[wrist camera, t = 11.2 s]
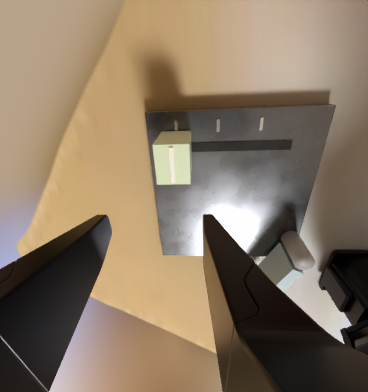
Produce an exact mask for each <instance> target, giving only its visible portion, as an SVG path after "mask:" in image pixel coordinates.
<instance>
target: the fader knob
mask: <svg viewBox="0 0 368 392" xmlns="http://www.w3.org/2000/svg"><path fill="white" fill-rule="evenodd" d="M152 146H153V154H154V163H155V171H156V180H157V185H172V184H191V170H192V149H191V131H164V132H161V133H160V134H159V136H158V137H157V139H156V140H155V142H154V143H153V145H152Z"/></svg>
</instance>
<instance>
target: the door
mask: <svg viewBox="0 0 368 392" xmlns="http://www.w3.org/2000/svg"><path fill="white" fill-rule="evenodd" d="M281 241H282V242H283V244H282V243H280V242H279V244H278V245H277V246H276V247H275V248H274V249H273V250H272V251H271V252H270V253H269V254H268V255H267V257H266V258H265V259H264V260H263V261H262V262H261V263H260V264H259V265H258V267H259V268H260V269H261V270H262V271H263V272H264V273H265V274H266V275H267V276H268V277H269V279H270V280H271V281H272V282H273V283H274V284H275V285H276V286H277V287H278V288H279V289H281V290H282V291H283V292H284V291H285V290H286V289H287V288H288V287H289V286H290V285H291V284H293V283H294V282H295V281H296V280H297V279H298V278H299V277H300V276H301V275H303V272H302V270H307V269H309V268H311V267H312V266H313V265H314V264H315V260H314V258H313V256H312V255H311V253H310V252H309V250H308V249H307V247H306V245H305V244H304V242H303V241H302V239H301V238H300V236H299V234H298V233H297V232H295V231H287V232H285V233H284V234H283V235H282V236H281Z"/></svg>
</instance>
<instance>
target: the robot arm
mask: <svg viewBox="0 0 368 392" xmlns="http://www.w3.org/2000/svg"><path fill="white" fill-rule="evenodd" d="M111 235H112V229H111V225H110V222H109V218H108V216H107V215H96V216H94V217H93V218H91V219H89V220H87V221H85V222H84V223H82V224H80V225H78V226H76V227H75V228H73V229H71V230H69V231H67V232H66V233H64V234H62V235H60V236H59V237H57V238H55V239H53V240H51V241H50V242H48V243H46V244H44V245H42V246H41V247H39V248H37V249H35V250H34V251H32V252H30V253H28V254H26V255H25V256H23V257H21V258H19V259H17V261H14V262H12V263H10V264H8V265H7V266H5V267H3V268H1V269H0V392H49V390H50V388H51V385H52V383H53V381H54V378H55V376H56V374H57V371H58V369H59V367H60V364H61V362H62V360H63V357H64V355H65V352H66V350H67V348H68V345H69V343H70V341H71V338H72V336H73V334H74V331H75V329H76V326H77V324H78V322H79V320H80V317H81V315H82V313H83V310H84V308H85V305H86V303H87V301H88V298H89V296H90V294H91V291H92V289H93V287H94V284H95V282H96V280H97V277H98V275H99V273H100V270H101V268H102V265H103V262H104V259H105V256H106V252H107V249H108V245H109V242H110V239H111ZM203 266H204V274H205V280H206V287H207V293H208V300H209V306H210V313H211V319H212V326H213V332H214V339H215V345H216V352H217V358H218V365H219V370H220V377H221V384H222V391H223V392H368V251H352V250H337V251H334V252H333V253H332V254H331V257H330V259H329V262H328V264H327V267H326V269H325V272H324V274H323V277H322V279H321V282H320V284H319V287H320V288H321V290H327V291H328V293H329V295H330V296H331V298H332V300H333V301H334V303H335V305H336V306H337V308H338V310H339V311H340V312H344V313H345V315H346V316H347V318H348V320H349V321H350V323H351V325H352V326H350V327H348V328H343V329H341V330H340V331H341V334H342V336H343V341H344V343H345V344H343V343H342V342H340V341H338V340H337V339H335V338H334V337H333V336H331V335H330V334H329V333H327V332H326V331H325V330H324V329H323V328H322V327H321V326H319V325H318V324H317V323H316V322H315V321H314V320H313V319H312V318H311V317H310V316H309V315H307V314H306V313H305V312H304V311H303V310H302V309H301V308H300V307H299V306H298V305H297V304H295V303H294V302H293V301H292V300H291V299H290V298H289V297H288V296H287V295H286V294H285V293H284V292H283V291H282V290H281V289H279V288H278V287H277V286H276V285H275V284H274V283H273V282H272V281H271V280H270V279H269V277H268V276H267V275H266V274H265V273H264V272H263V271H262V270H261V269H260V268H259V267H258V265H257V264H255V262H254V261H253V260H252V259H251V258H250V256H249V255H248V254H247V253H246V252H245V251H244V250H243V248H242V247H241V246H240V245H239V244H238V243H237V242H236V240H235V239H234V238H233V237H232V236H231V235H230V234H229V233H228V231H227V230H226V229H225V228H224V227H223V226H222V225H221V223H220V222H219V221H218V220H217V219H216V218H215V217H214V215H212V214H204V215H203Z"/></svg>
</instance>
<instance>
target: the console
mask: <svg viewBox="0 0 368 392" xmlns="http://www.w3.org/2000/svg"><path fill="white" fill-rule="evenodd" d="M335 107H336V105H332V104H314V105H289V106H263V107H237V108H211V109H185V110H159V111H147V112H145V116H146V124H147V132H148V140H149V148H150V156H151V164H152V172H153V180H154V188H155V196H156V204H157V212H158V220H159V228H160V236H161V243H162V251H163V255H191V256H203V215H204V214H212V215H214V217H215V218H216V219H217V220H218V221H219V222H220V223H221V225H222V226H223V227H224V228H225V229H226V230H227V231H228V233H229V234H230V235H231V236H232V237H233V238H234V239H235V240H236V242H237V243H238V244H239V245H240V246H241V247H242V248H243V250H244V251H245V252H246V253H247V254H248V255H249V256H267V255H268V254H269V253H270V252H271V251H272V250H273V249H274V248H275V247H276V246H277V245H278V244H279V242H280V243H282V244H283V242H282V241H281V236H282V235H283V234H284V233H285V232H287V231H295V232H297V233H298V234H299V233H300V230H301V226H302V223H303V219H304V216H305V212H306V209H307V205H308V202H309V198H310V195H311V191H312V188H313V184H314V181H315V177H316V174H317V170H318V167H319V163H320V160H321V156H322V153H323V149H324V146H325V142H326V139H327V135H328V132H329V128H330V125H331V121H332V118H333V114H334V111H335ZM164 131H191V149H192V170H191V184H172V185H157V180H156V171H155V163H154V154H153V146H152V145H153V143H154V142H155V140H156V139H157V137H158V136H159V134H160V133H161V132H164Z"/></svg>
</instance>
